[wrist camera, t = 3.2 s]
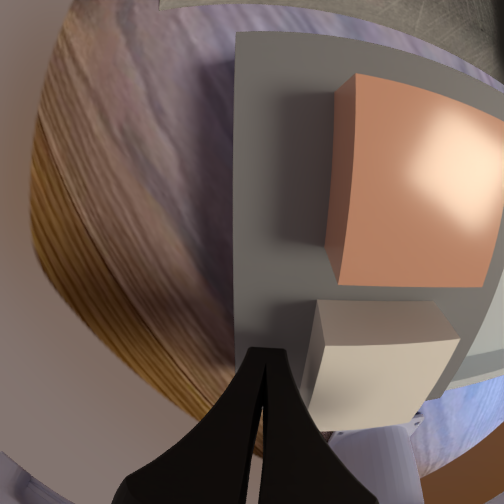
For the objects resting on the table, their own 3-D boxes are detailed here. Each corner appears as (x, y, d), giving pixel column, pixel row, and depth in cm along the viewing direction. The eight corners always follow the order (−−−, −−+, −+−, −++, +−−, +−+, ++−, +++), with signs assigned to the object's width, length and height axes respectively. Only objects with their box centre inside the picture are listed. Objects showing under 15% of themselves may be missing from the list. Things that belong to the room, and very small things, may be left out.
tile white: (396, 384, 11) (409, 422, 9) (300, 388, 12) (300, 431, 9) (433, 301, 9) (460, 338, 7) (317, 299, 10) (325, 345, 7)
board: (425, 365, 14) (440, 397, 12) (243, 367, 15) (236, 407, 13) (486, 106, 8) (524, 106, 5) (247, 57, 9) (235, 32, 6)
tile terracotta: (446, 255, 8) (482, 287, 6) (324, 247, 9) (337, 284, 7) (465, 123, 6) (510, 125, 4) (334, 92, 7) (355, 73, 5)
